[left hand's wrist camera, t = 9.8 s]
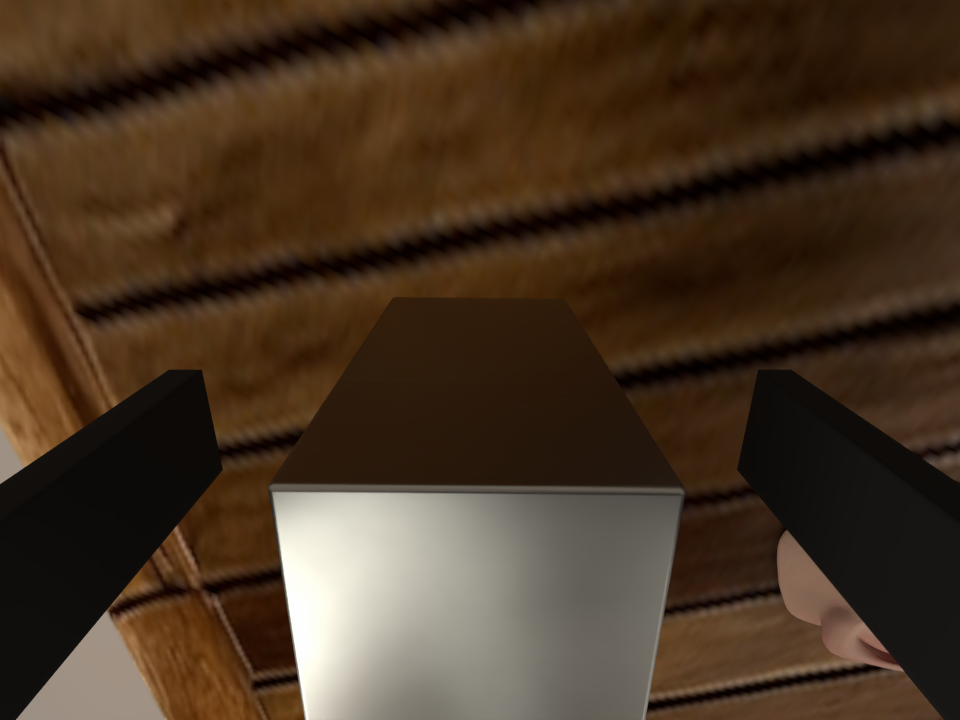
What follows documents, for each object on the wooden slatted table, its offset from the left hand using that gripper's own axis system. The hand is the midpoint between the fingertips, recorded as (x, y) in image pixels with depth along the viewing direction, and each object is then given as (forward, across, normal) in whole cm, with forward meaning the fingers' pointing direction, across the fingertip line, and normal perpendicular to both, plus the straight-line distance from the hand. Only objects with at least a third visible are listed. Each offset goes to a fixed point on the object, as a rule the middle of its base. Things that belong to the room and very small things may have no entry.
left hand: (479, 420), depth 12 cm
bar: (+2, 0, -10) cm, 10 cm away
